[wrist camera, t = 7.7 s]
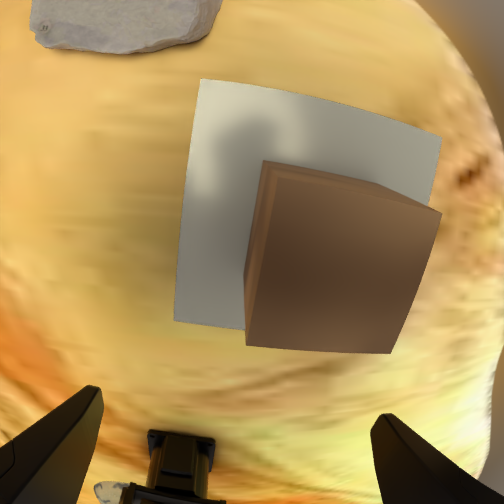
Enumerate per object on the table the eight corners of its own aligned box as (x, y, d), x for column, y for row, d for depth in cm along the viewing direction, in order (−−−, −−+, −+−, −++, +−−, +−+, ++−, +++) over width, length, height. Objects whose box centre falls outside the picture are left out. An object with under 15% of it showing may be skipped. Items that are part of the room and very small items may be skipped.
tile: (366, 316, 22) (381, 340, 19) (181, 295, 21) (173, 320, 18) (416, 134, 17) (442, 137, 14) (207, 87, 16) (201, 78, 13)
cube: (349, 288, 17) (390, 353, 12) (243, 274, 17) (245, 345, 11) (377, 183, 15) (442, 213, 10) (263, 159, 15) (277, 177, 9)
